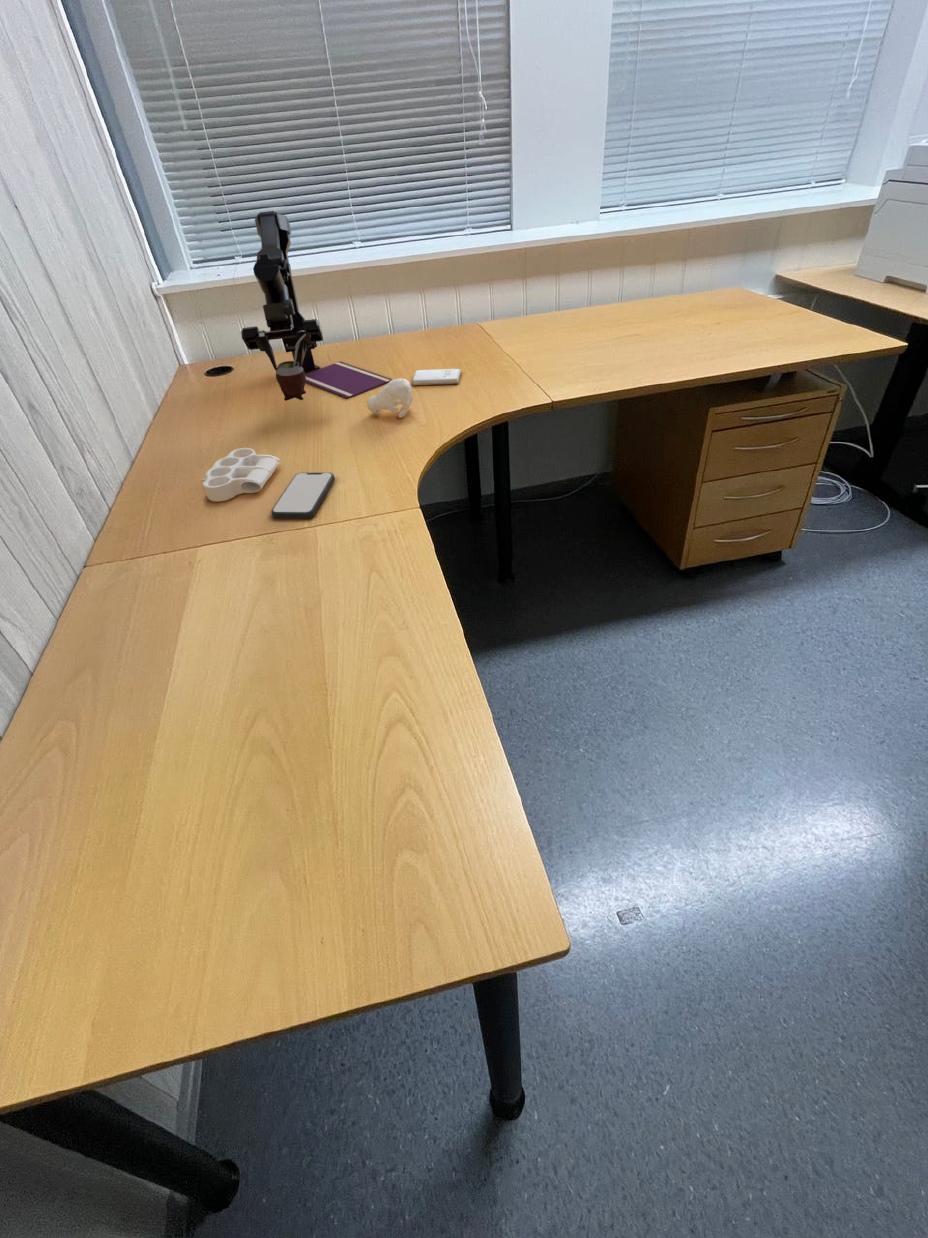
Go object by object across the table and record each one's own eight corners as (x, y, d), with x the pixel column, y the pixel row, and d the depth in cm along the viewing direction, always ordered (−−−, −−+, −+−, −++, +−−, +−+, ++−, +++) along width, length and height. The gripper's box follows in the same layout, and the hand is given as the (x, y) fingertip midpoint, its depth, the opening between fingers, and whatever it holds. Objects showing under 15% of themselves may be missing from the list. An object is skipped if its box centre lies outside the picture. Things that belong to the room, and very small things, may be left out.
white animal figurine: (405, 383, 144) (358, 389, 146) (413, 417, 149) (367, 422, 152) (410, 373, 148) (364, 379, 151) (418, 407, 154) (373, 412, 156)
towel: (296, 378, 177) (295, 376, 177) (340, 362, 185) (340, 361, 185) (347, 398, 163) (346, 397, 162) (392, 380, 170) (392, 378, 170)
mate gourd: (275, 397, 153) (260, 335, 143) (301, 387, 157) (288, 326, 147) (292, 405, 149) (279, 342, 139) (318, 395, 154) (306, 333, 143)
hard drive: (417, 375, 172) (460, 373, 171) (413, 385, 166) (457, 384, 165) (417, 369, 171) (460, 367, 170) (412, 379, 165) (457, 378, 164)
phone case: (313, 520, 117) (337, 478, 129) (311, 513, 116) (335, 471, 127) (270, 519, 118) (298, 478, 130) (268, 512, 117) (296, 471, 129)
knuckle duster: (257, 501, 124) (191, 501, 126) (286, 460, 137) (226, 461, 139) (252, 487, 121) (185, 487, 123) (282, 446, 135) (221, 447, 137)
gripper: (229, 291, 139) (239, 356, 138) (310, 281, 141) (320, 346, 140) (243, 318, 150) (253, 378, 149) (318, 309, 152) (328, 368, 151)
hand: (287, 367), depth 147 cm, fingers closed on mate gourd, 6 cm apart
